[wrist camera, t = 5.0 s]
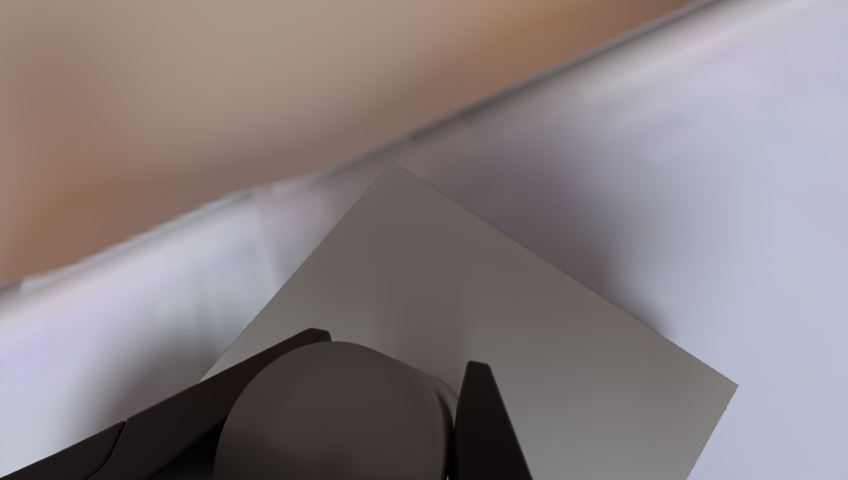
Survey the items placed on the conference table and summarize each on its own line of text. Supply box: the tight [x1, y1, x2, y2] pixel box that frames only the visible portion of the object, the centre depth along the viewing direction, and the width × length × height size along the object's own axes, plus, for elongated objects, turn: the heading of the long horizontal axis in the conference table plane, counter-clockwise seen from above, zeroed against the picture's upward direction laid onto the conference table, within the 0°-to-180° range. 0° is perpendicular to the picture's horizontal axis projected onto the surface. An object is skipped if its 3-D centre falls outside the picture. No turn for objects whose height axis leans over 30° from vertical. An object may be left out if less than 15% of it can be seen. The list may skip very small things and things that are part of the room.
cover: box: [198, 162, 739, 480], centre depth 9 cm, size 13×13×9 cm
